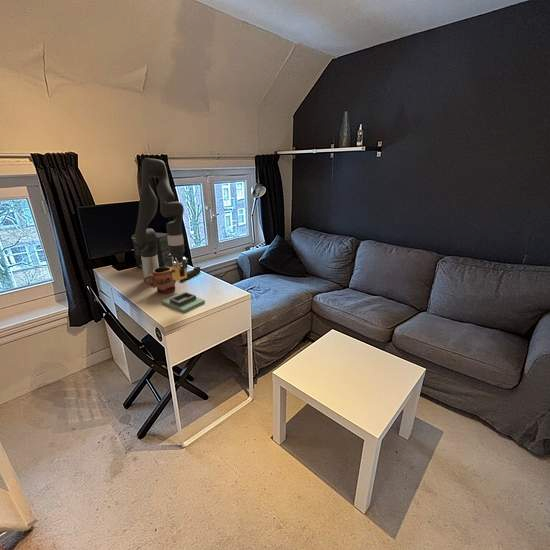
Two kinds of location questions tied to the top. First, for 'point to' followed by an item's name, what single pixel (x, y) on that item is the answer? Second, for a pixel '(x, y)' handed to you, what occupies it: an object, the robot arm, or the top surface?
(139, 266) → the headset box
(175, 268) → the keyed plug
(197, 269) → the hand tool
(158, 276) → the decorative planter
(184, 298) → the board
